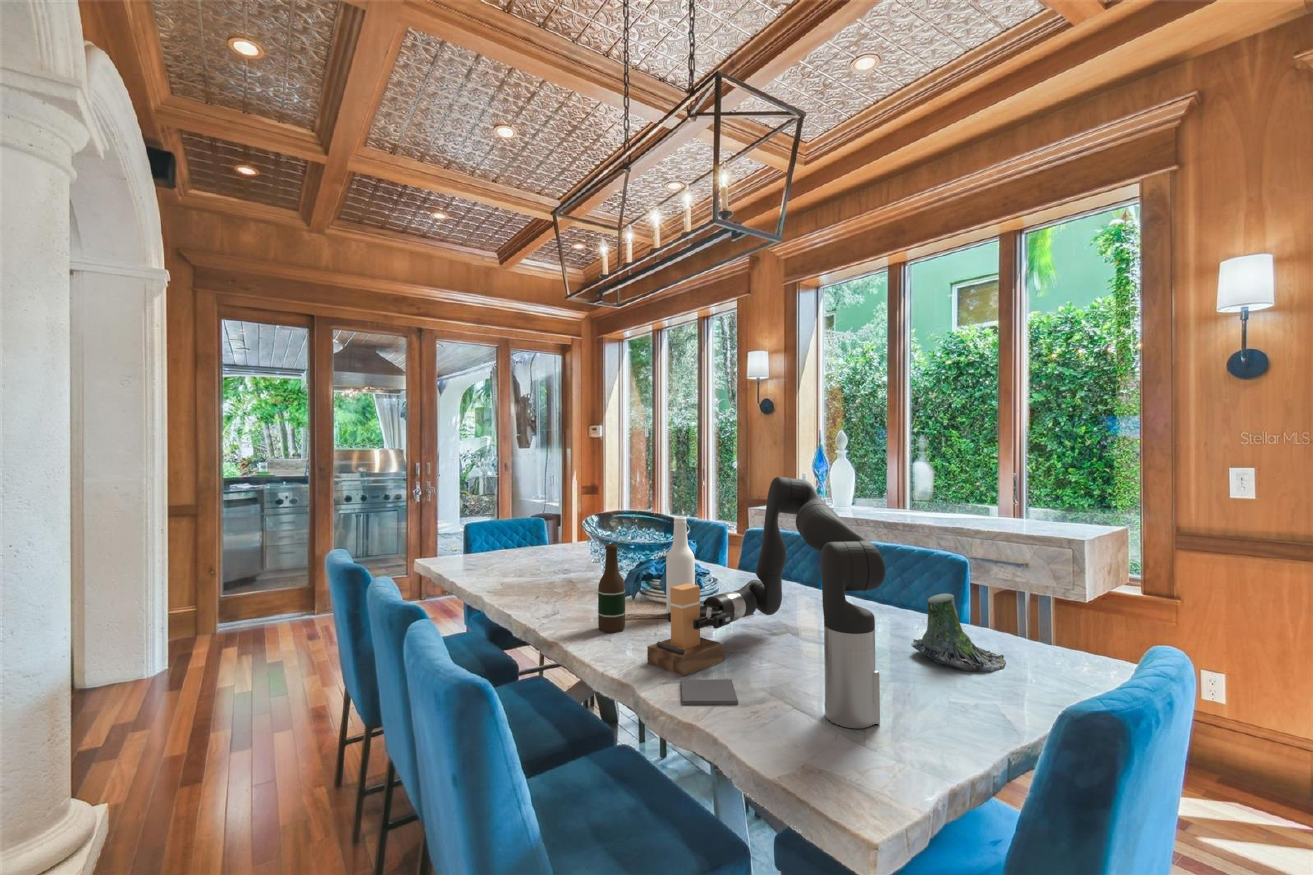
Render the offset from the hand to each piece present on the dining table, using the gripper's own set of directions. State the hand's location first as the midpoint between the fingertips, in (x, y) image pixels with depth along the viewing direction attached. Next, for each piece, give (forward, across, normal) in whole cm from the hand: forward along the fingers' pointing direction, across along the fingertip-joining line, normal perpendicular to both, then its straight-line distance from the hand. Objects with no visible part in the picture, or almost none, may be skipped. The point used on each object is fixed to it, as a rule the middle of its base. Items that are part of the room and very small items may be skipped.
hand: (681, 621), depth 142 cm
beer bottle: (-6, -33, +10) cm, 35 cm away
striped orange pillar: (-2, 0, +10) cm, 10 cm away
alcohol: (-30, -28, +10) cm, 42 cm away
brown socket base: (-2, 0, +10) cm, 10 cm away
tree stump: (-49, +45, +10) cm, 68 cm away
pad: (+9, +16, +10) cm, 21 cm away
